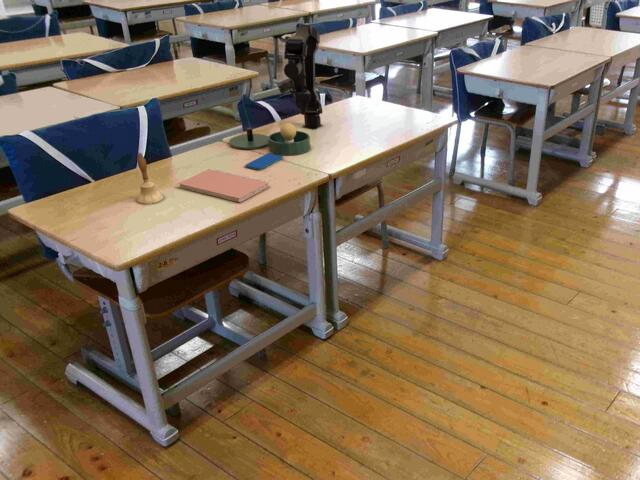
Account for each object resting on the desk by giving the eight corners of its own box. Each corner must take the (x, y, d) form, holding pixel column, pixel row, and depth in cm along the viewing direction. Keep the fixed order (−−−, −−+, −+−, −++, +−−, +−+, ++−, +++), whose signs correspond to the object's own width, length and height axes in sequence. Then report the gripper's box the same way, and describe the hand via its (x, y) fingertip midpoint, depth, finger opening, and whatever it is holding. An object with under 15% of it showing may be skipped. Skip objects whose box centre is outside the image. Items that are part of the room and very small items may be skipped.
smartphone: (244, 165, 239) (268, 152, 250) (244, 167, 239) (269, 154, 250) (259, 168, 236) (283, 155, 247) (260, 171, 236) (284, 158, 248)
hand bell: (148, 206, 208) (138, 159, 200) (132, 200, 212) (121, 154, 203) (168, 197, 214) (159, 152, 206) (152, 192, 218) (142, 147, 209)
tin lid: (227, 138, 267) (225, 124, 264) (268, 135, 272) (267, 120, 269) (231, 152, 254) (229, 136, 250) (275, 148, 258) (273, 133, 255)
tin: (266, 144, 262) (265, 132, 259) (305, 140, 266) (304, 129, 264) (272, 157, 249) (271, 145, 246) (313, 153, 253) (312, 141, 251)
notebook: (271, 186, 224) (270, 180, 223) (240, 203, 211) (239, 197, 210) (211, 172, 234) (210, 167, 233) (178, 187, 222) (177, 182, 221)
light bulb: (280, 146, 259) (278, 121, 253) (295, 144, 261) (293, 120, 256) (283, 150, 254) (281, 126, 248) (299, 149, 256) (297, 124, 250)
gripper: (273, 68, 256) (277, 106, 265) (281, 79, 241) (284, 119, 250) (301, 66, 259) (303, 104, 268) (309, 77, 244) (312, 117, 253)
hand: (300, 111), depth 259 cm, fingers open, 9 cm apart
